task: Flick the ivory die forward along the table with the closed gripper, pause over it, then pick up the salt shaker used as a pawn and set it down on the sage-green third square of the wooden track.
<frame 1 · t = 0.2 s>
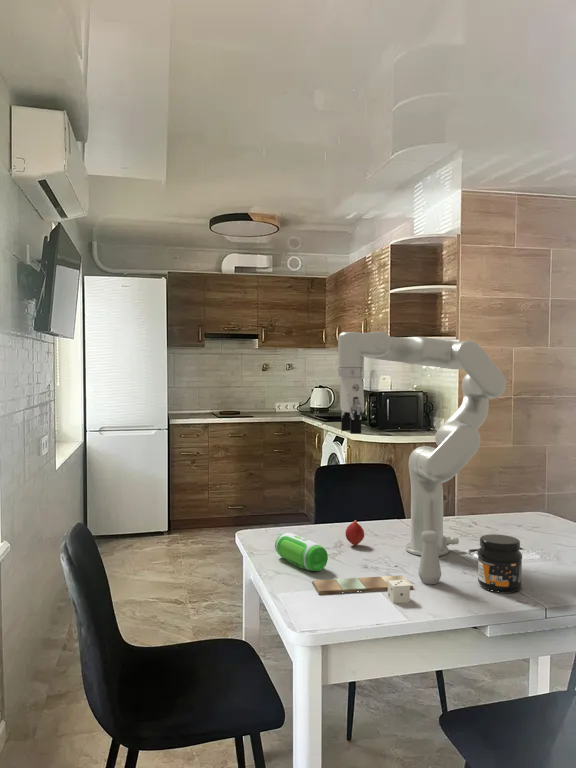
hand: (351, 432, 174), 36 cm above the table, tool pointing down, fingers open, 9 cm apart
salt shaker: (429, 582, 151), on the table
track: (362, 586, 149), on the table
die: (398, 599, 140), on the table
supplement container: (499, 587, 148), on the table
onion: (354, 546, 184), on the table
speaker: (300, 565, 166), on the table
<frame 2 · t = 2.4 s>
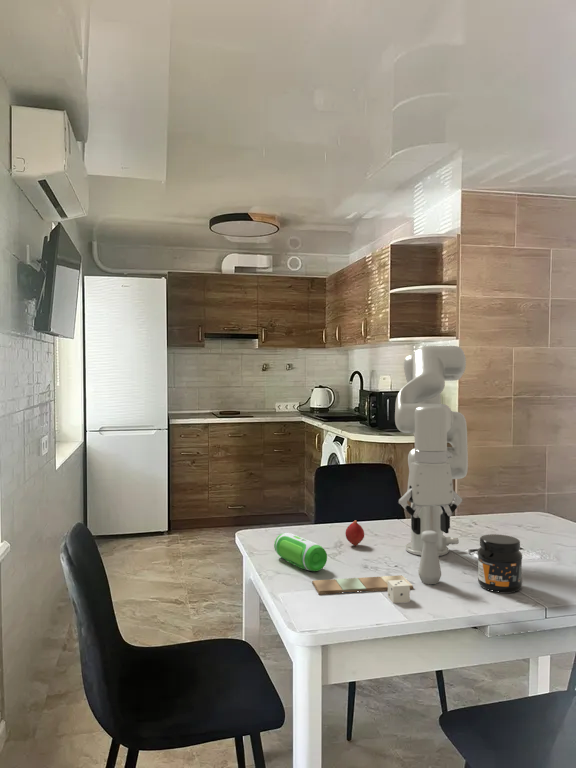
hand: (430, 531, 141), 16 cm above the table, tool pointing down, fingers open, 6 cm apart
nothing on the table moved.
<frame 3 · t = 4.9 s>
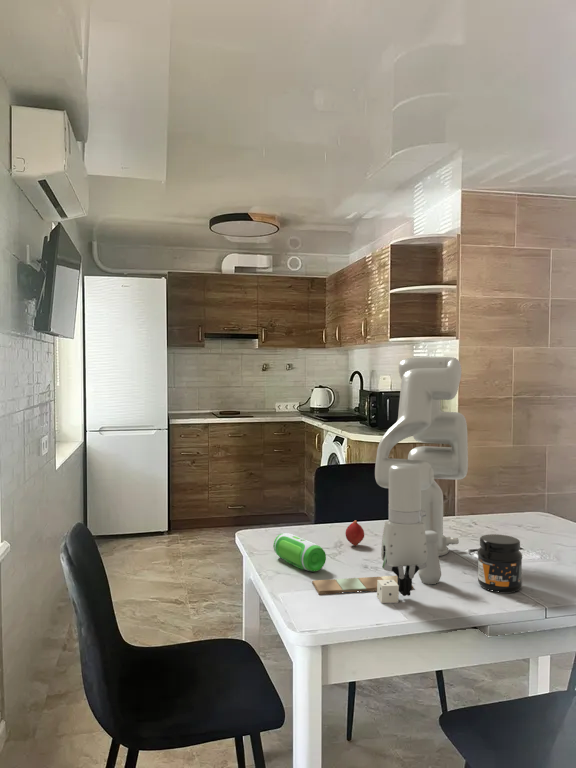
hand: (404, 593, 140), 1 cm above the table, tool pointing down, fingers closed
die: (387, 599, 139), on the table, touching gripper
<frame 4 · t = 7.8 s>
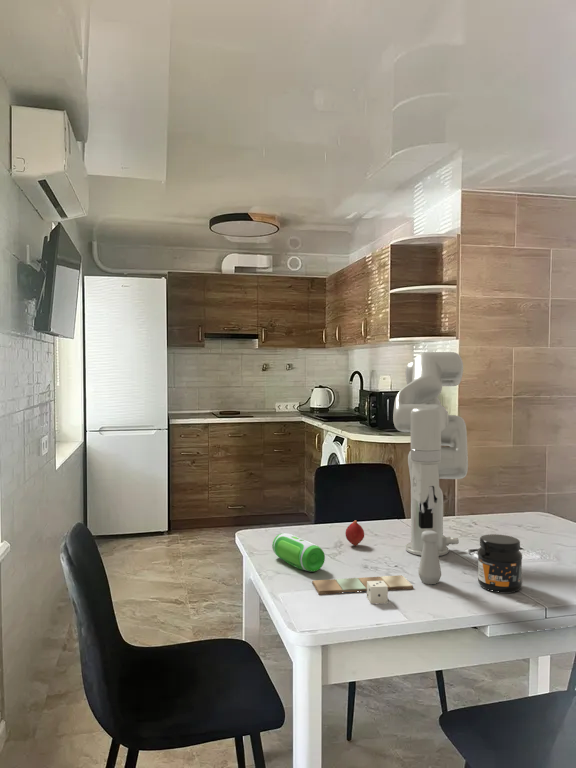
hand: (425, 527, 150), 14 cm above the table, tool pointing down, fingers closed
die: (377, 600, 139), on the table
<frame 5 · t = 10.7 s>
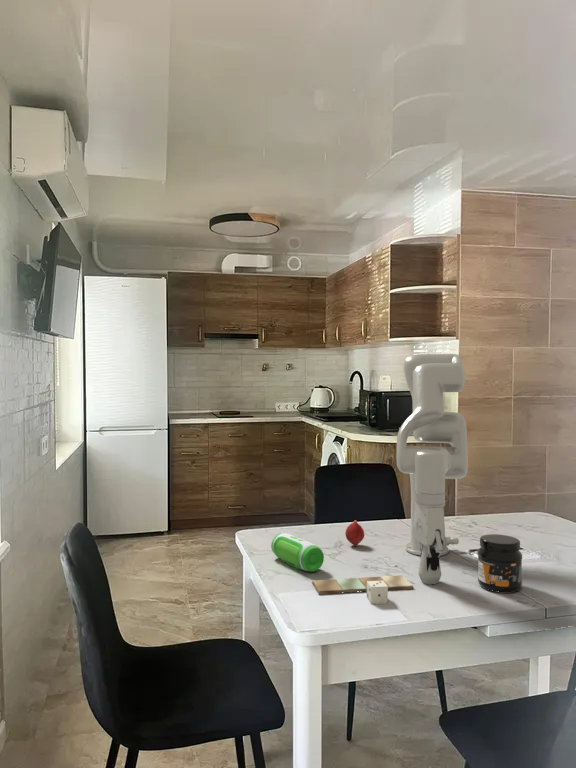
hand: (429, 569, 151), 3 cm above the table, tool pointing down, fingers closed on salt shaker, 3 cm apart
salt shaker: (429, 582, 151), on the table, touching gripper
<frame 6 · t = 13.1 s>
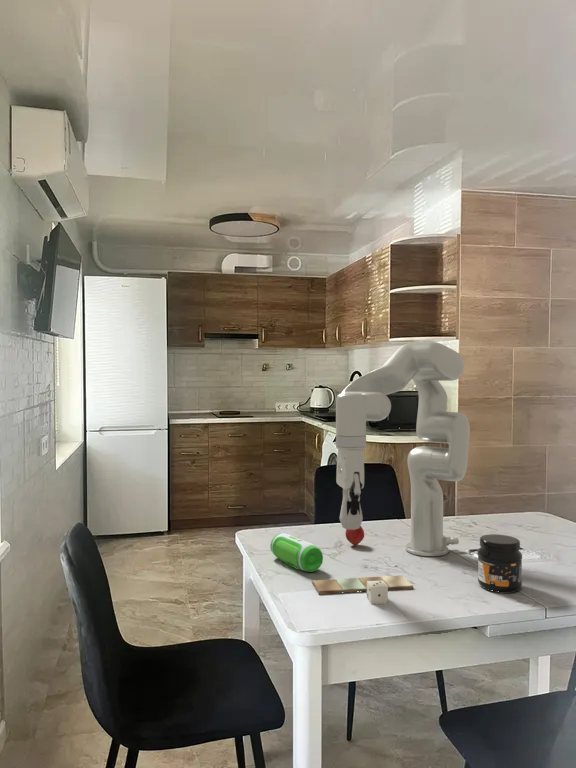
hand: (351, 514, 148), 18 cm above the table, tool pointing down, fingers closed on salt shaker, 3 cm apart
salt shaker: (351, 528, 148), point 15 cm above the table, touching gripper
when the fingers open (5 cm above the table, at t = 15.7 s): salt shaker drops 1 cm, resting on track.
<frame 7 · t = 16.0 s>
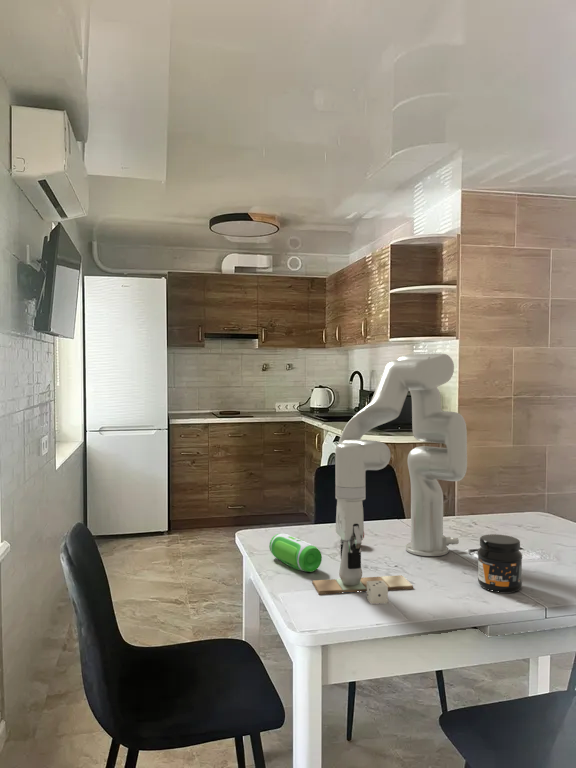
hand: (350, 563, 148), 6 cm above the table, tool pointing down, fingers open, 6 cm apart
salt shaker: (351, 583, 148), point 1 cm above the table, touching track
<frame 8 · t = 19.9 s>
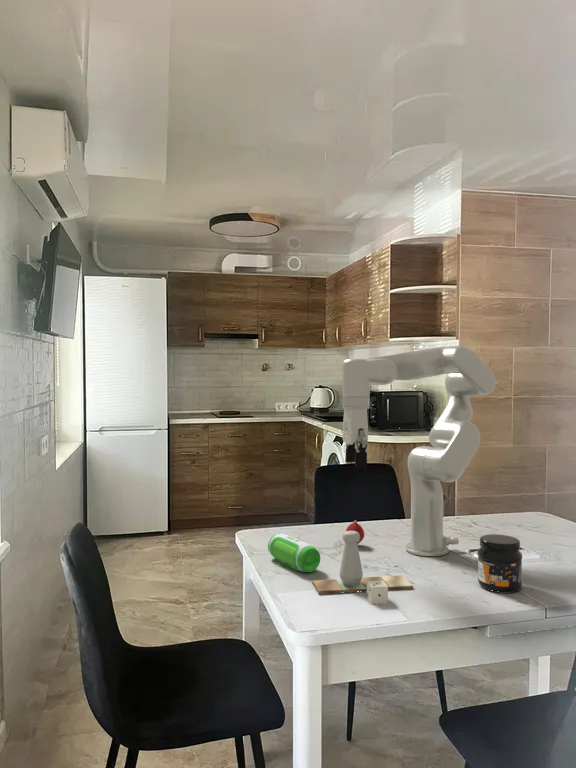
hand: (356, 464, 165), 28 cm above the table, tool pointing down, fingers open, 9 cm apart
at the end: salt shaker inside the target area (0.3 cm from its centre), point 0.6 cm above the table; salt shaker tilted 0°; die moved 5.2 cm from its start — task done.
